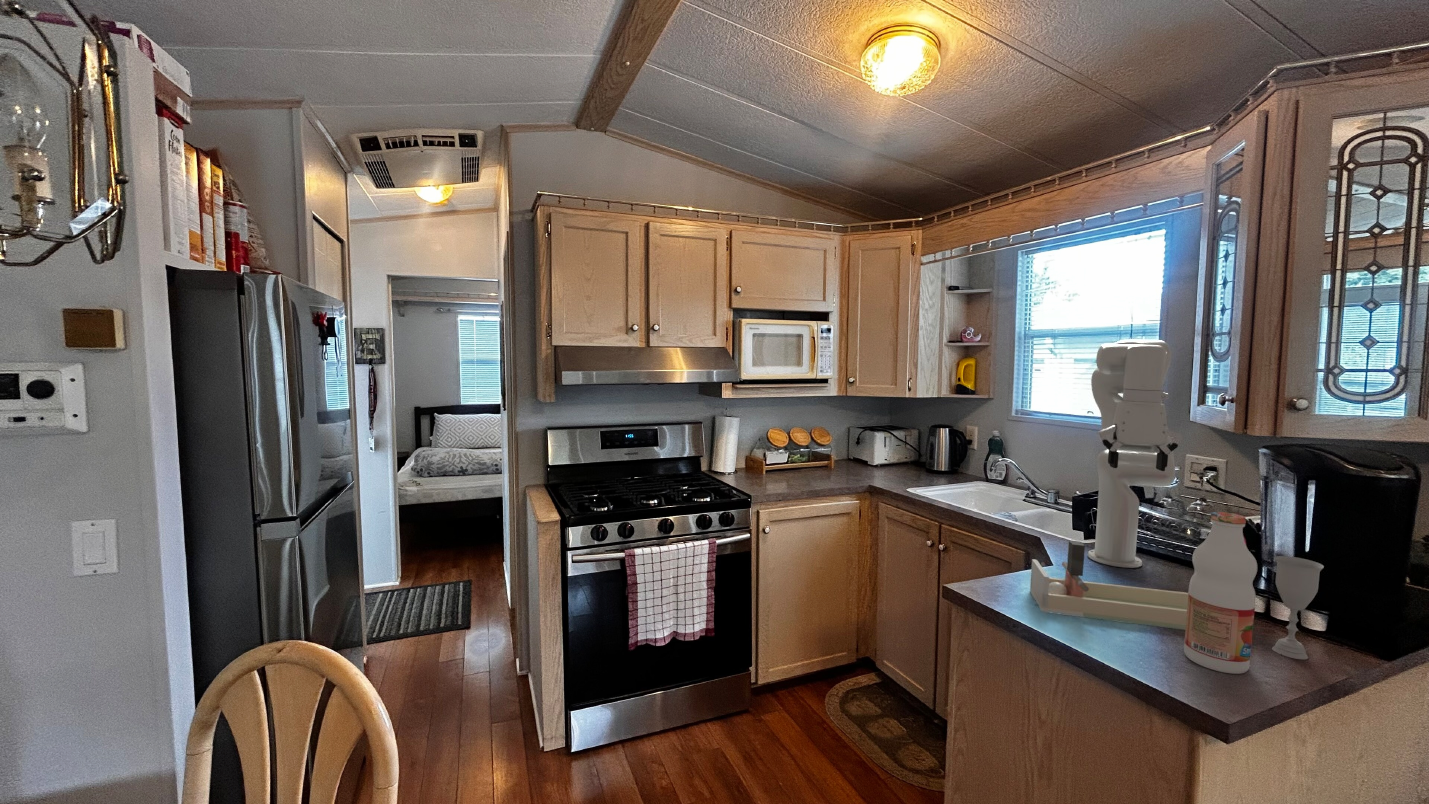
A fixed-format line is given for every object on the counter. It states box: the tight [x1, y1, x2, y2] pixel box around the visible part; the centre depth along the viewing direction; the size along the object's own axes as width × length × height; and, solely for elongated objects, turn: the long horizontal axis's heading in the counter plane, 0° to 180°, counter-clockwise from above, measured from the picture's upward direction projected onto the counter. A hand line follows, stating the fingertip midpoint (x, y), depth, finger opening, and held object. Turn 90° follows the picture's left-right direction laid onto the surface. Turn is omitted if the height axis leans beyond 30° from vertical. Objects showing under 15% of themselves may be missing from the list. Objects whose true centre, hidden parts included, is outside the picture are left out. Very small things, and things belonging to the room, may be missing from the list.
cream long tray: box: [1029, 558, 1188, 631], centre depth 133 cm, size 12×32×8 cm, turn 73°
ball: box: [1048, 582, 1067, 595], centre depth 136 cm, size 4×4×4 cm
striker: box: [1061, 540, 1089, 597], centre depth 135 cm, size 16×2×13 cm, turn 163°
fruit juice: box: [1183, 511, 1258, 675], centre depth 110 cm, size 9×9×28 cm
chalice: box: [1271, 555, 1325, 660], centre depth 114 cm, size 7×7×18 cm
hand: (1136, 468), depth 142 cm, fingers open, 9 cm apart
